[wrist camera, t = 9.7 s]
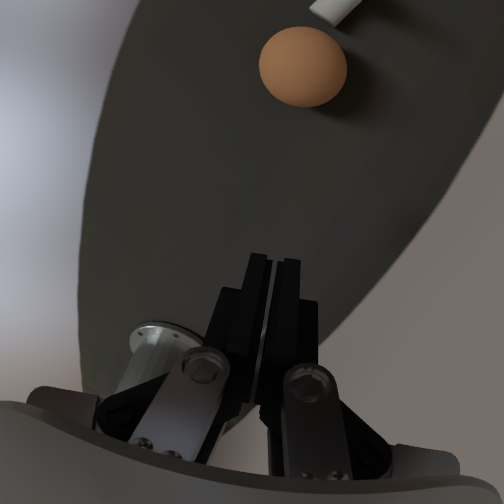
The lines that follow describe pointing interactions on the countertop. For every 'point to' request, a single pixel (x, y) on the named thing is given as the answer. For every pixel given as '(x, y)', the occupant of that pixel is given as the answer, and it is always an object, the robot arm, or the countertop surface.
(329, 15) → the pin
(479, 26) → the countertop surface
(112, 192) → the countertop surface
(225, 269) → the countertop surface
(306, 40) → the ball
